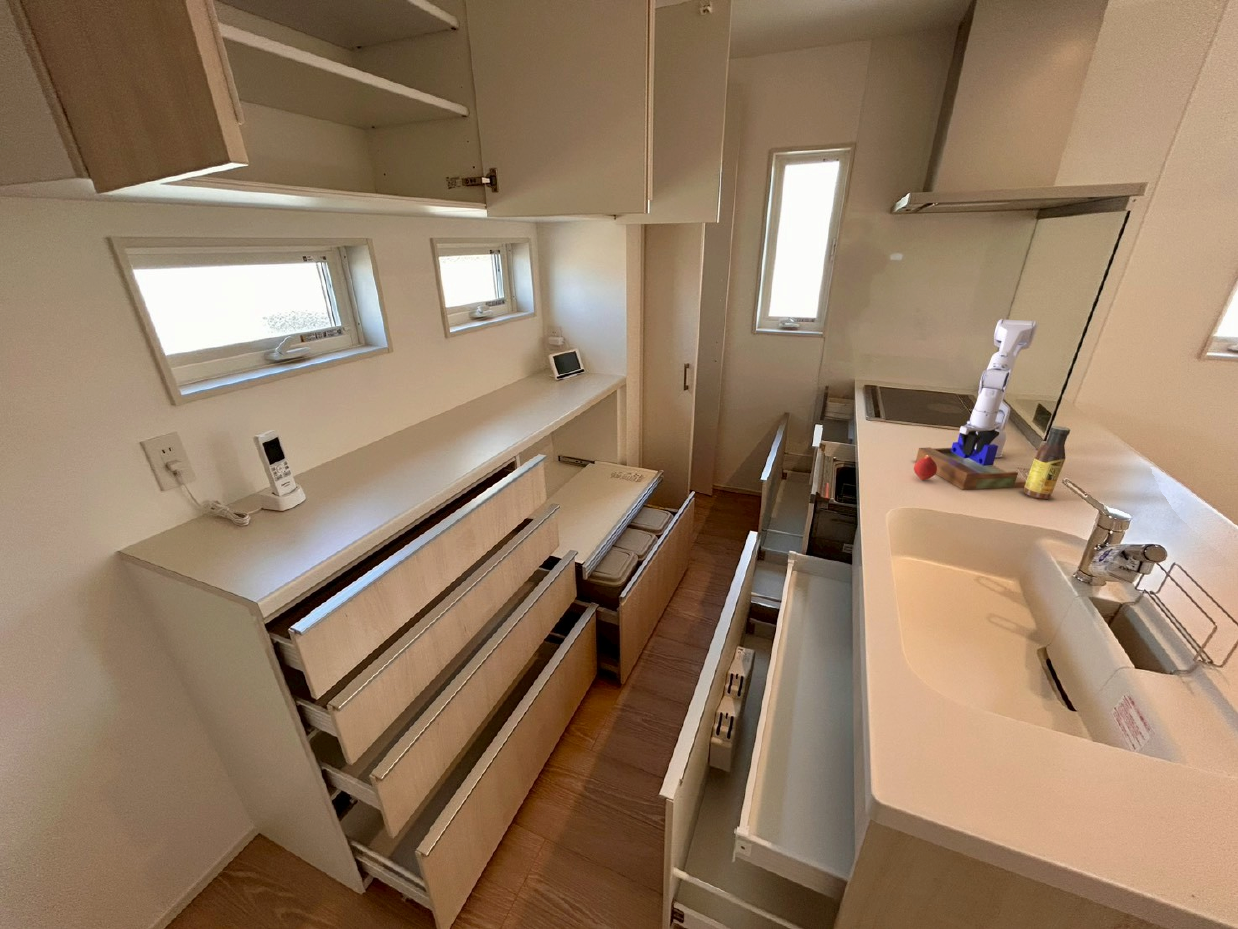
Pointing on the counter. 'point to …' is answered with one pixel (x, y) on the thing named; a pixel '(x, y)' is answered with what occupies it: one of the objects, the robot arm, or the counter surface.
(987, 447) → the cable clip
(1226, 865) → the counter surface
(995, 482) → the wooden serving tray
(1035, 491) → the sauce bottle
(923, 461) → the onion
